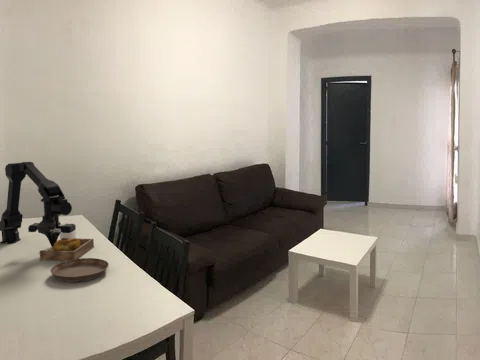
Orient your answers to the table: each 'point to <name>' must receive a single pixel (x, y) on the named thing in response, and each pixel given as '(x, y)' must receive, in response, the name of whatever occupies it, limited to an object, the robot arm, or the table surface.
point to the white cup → (68, 235)
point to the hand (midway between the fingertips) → (53, 246)
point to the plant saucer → (79, 269)
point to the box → (68, 255)
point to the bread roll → (66, 245)
